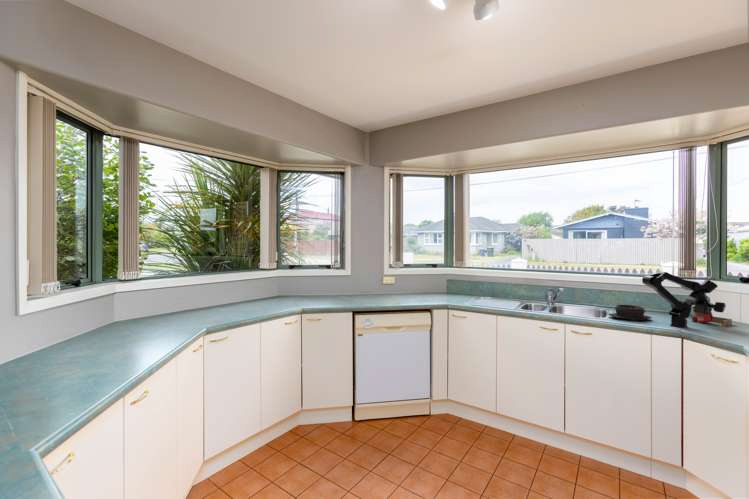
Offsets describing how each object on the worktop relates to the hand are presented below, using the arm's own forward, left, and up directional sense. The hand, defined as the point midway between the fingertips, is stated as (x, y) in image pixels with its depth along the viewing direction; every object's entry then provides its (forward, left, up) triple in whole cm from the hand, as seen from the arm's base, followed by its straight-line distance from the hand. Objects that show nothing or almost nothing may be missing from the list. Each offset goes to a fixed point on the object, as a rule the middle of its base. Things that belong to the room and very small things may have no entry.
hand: (707, 313), depth 220 cm
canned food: (-2, +3, -6) cm, 7 cm away
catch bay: (-1, +6, -7) cm, 9 cm away
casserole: (-31, -27, -7) cm, 42 cm away
